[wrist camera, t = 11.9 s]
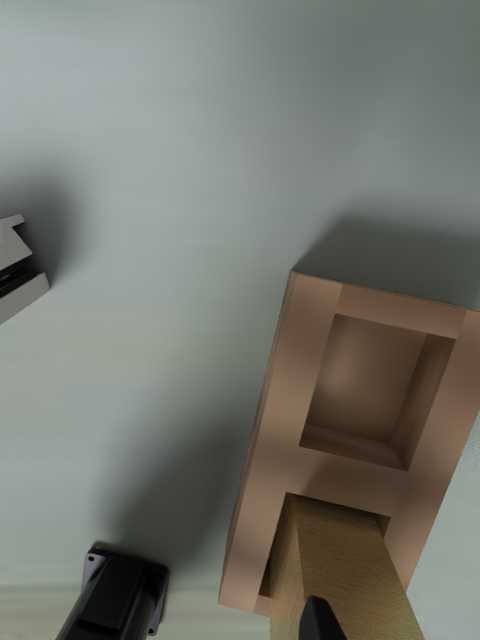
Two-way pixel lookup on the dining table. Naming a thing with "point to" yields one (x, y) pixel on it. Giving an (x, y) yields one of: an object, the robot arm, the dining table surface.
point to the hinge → (23, 288)
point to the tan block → (336, 572)
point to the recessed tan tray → (354, 421)
